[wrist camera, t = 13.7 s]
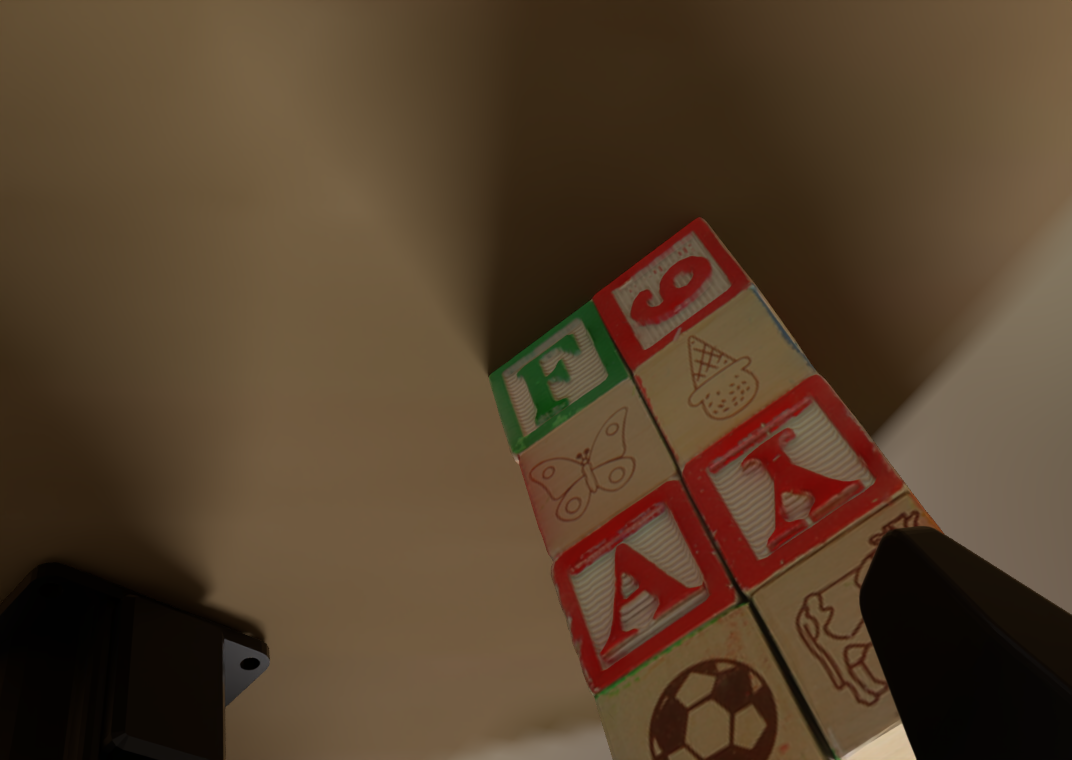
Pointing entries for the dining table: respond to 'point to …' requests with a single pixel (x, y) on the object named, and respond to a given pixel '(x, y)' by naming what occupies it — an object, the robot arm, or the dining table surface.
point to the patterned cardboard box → (707, 517)
